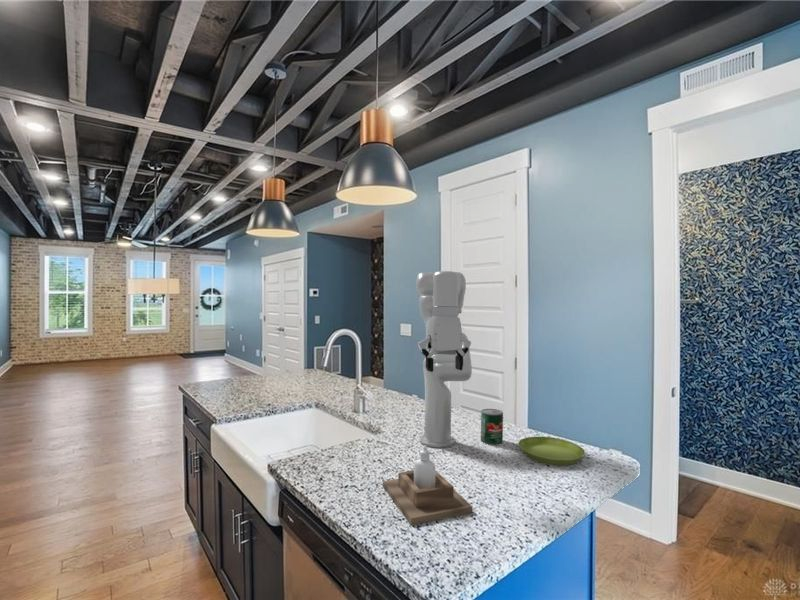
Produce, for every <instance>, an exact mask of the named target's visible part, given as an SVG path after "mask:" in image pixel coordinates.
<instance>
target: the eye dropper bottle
mask: <svg viewBox="0 0 800 600" xmlns="http://www.w3.org/2000/svg"><path fill="white" fill-rule="evenodd" d="M427 447H428V446H426V445H423V446H422V450H420V451H419V458H418V459H416V460H415V461H414V464H413V471H414V484H415V485H416V486H417V487H418V488H419V489H424V488H430V487H435V470H436V465H435V464H434V462H433V461H432V460H431V459H430V458H431V457H430V453H431V452H430V450H428V448H427Z"/></svg>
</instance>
